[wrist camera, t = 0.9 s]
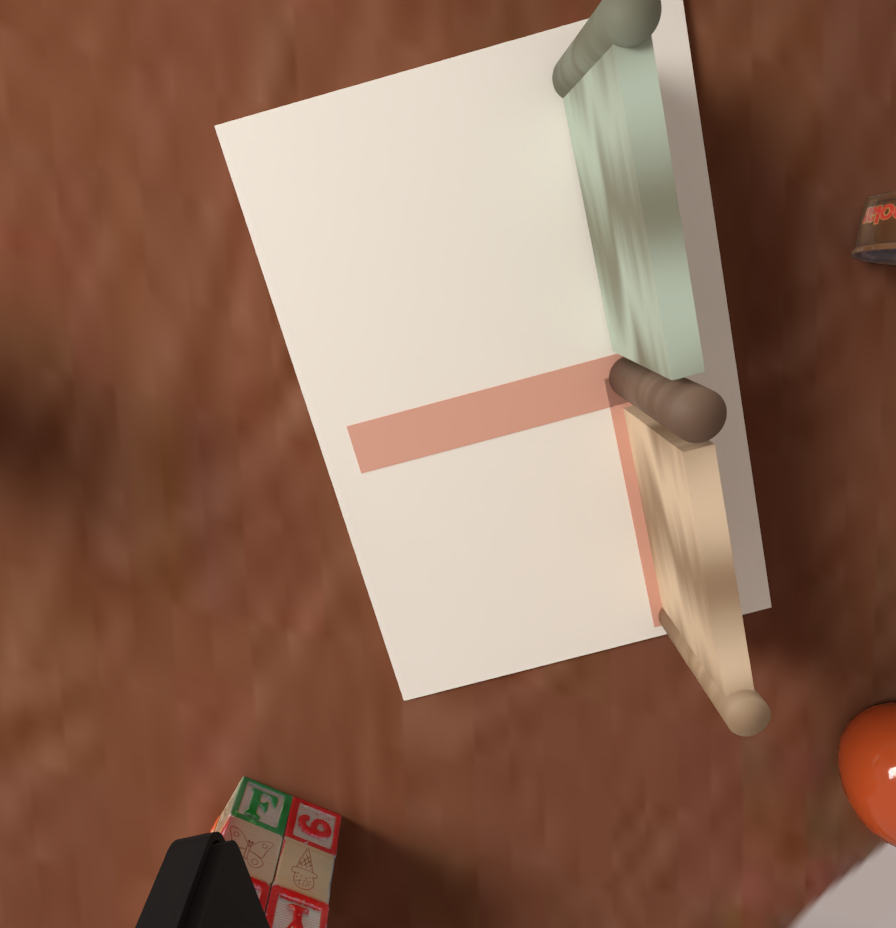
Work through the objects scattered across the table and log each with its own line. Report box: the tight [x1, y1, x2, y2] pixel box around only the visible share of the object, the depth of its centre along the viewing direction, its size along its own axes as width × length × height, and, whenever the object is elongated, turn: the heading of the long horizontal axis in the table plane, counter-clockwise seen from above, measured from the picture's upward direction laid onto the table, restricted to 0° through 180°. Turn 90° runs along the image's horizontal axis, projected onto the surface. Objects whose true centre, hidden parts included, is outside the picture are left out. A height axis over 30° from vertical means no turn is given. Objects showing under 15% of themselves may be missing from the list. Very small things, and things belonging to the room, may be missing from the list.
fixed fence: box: [609, 357, 771, 736], centre depth 31 cm, size 15×2×9 cm, turn 15°
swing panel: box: [552, 0, 705, 380], centre depth 27 cm, size 12×2×8 cm, turn 15°
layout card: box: [215, 0, 771, 701], centre depth 34 cm, size 29×20×1 cm
